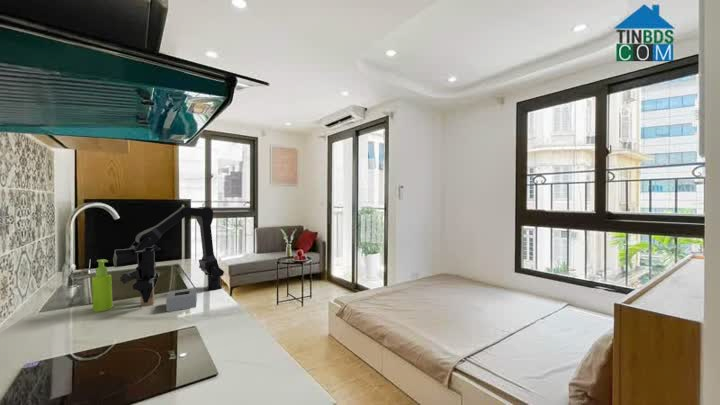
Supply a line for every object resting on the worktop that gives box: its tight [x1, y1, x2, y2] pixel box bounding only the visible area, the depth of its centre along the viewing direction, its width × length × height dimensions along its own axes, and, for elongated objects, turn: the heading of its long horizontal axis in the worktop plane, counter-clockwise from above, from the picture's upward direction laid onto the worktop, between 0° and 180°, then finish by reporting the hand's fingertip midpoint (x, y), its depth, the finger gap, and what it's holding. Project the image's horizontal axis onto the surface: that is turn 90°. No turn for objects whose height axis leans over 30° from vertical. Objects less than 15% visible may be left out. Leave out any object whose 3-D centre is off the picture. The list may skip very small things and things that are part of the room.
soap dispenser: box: [91, 258, 113, 313], centre depth 117 cm, size 6×7×20 cm
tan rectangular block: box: [140, 287, 155, 308], centre depth 121 cm, size 3×4×7 cm
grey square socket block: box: [165, 287, 198, 312], centre depth 120 cm, size 10×10×5 cm
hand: (147, 299), depth 121 cm, fingers open, 7 cm apart
